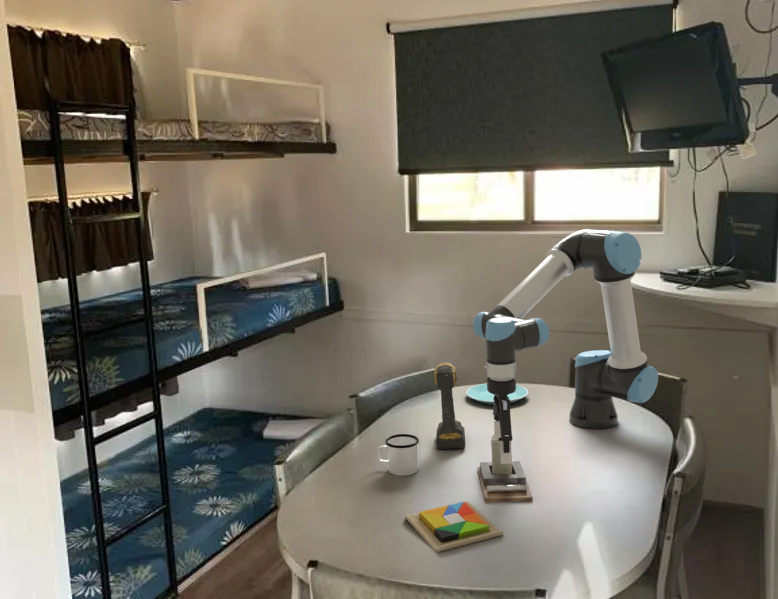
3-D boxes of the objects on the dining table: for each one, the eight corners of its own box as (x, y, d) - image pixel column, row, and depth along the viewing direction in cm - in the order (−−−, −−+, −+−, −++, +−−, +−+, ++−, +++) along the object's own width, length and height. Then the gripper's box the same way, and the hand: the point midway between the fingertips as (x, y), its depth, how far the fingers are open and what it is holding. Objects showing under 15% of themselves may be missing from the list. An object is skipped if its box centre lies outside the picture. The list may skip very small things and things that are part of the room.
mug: (423, 465, 220) (423, 435, 218) (414, 478, 211) (413, 447, 209) (384, 461, 224) (383, 431, 222) (373, 474, 215) (371, 443, 213)
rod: (525, 489, 199) (525, 483, 199) (527, 492, 197) (527, 486, 197) (487, 490, 199) (487, 484, 199) (487, 493, 198) (487, 487, 197)
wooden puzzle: (438, 556, 171) (438, 541, 170) (402, 521, 188) (402, 508, 187) (505, 538, 178) (505, 524, 177) (465, 506, 195) (464, 493, 194)
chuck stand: (520, 469, 215) (520, 459, 214) (532, 500, 195) (532, 489, 194) (477, 470, 215) (477, 460, 214) (485, 502, 195) (484, 491, 195)
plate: (463, 408, 269) (463, 400, 268) (468, 389, 290) (468, 381, 290) (528, 409, 265) (528, 401, 264) (528, 390, 286) (528, 382, 286)
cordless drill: (465, 428, 248) (463, 353, 243) (465, 452, 228) (463, 370, 224) (437, 428, 249) (435, 353, 244) (434, 452, 229) (432, 371, 225)
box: (512, 474, 209) (512, 435, 207) (511, 480, 205) (510, 441, 203) (493, 472, 210) (492, 434, 208) (491, 479, 206) (490, 440, 204)
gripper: (482, 364, 215) (484, 436, 219) (492, 392, 190) (494, 472, 194) (509, 363, 215) (510, 435, 219) (522, 390, 190) (524, 471, 194)
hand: (502, 453), depth 207 cm, fingers open, 13 cm apart
